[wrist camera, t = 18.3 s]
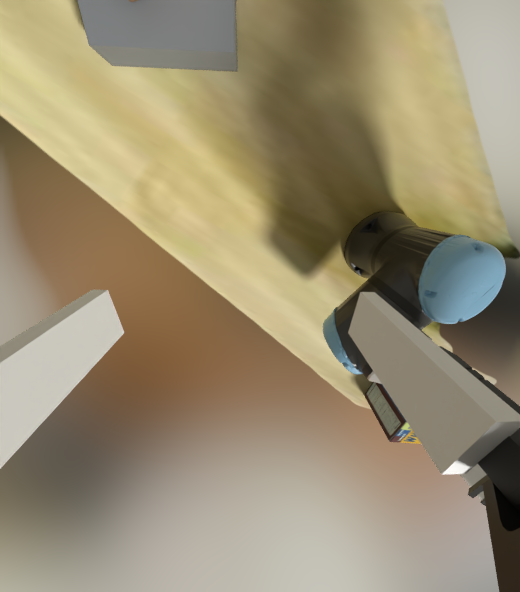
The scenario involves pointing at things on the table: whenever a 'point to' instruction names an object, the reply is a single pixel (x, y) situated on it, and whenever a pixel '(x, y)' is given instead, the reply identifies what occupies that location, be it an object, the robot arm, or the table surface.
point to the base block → (163, 33)
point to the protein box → (389, 415)
